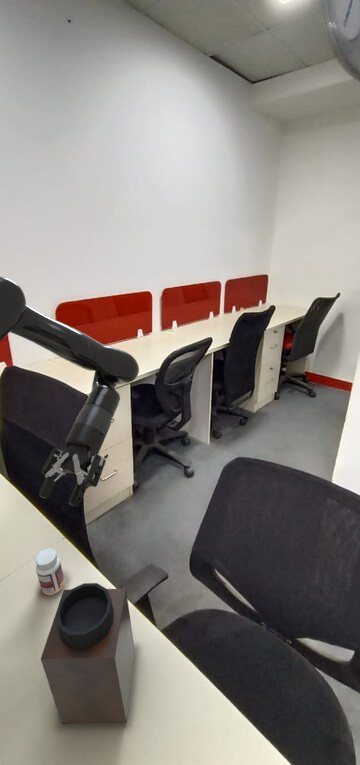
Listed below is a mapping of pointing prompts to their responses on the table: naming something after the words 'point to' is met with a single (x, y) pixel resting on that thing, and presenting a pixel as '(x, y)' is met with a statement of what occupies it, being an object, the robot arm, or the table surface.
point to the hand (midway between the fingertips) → (57, 501)
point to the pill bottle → (49, 572)
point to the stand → (93, 670)
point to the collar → (85, 615)
